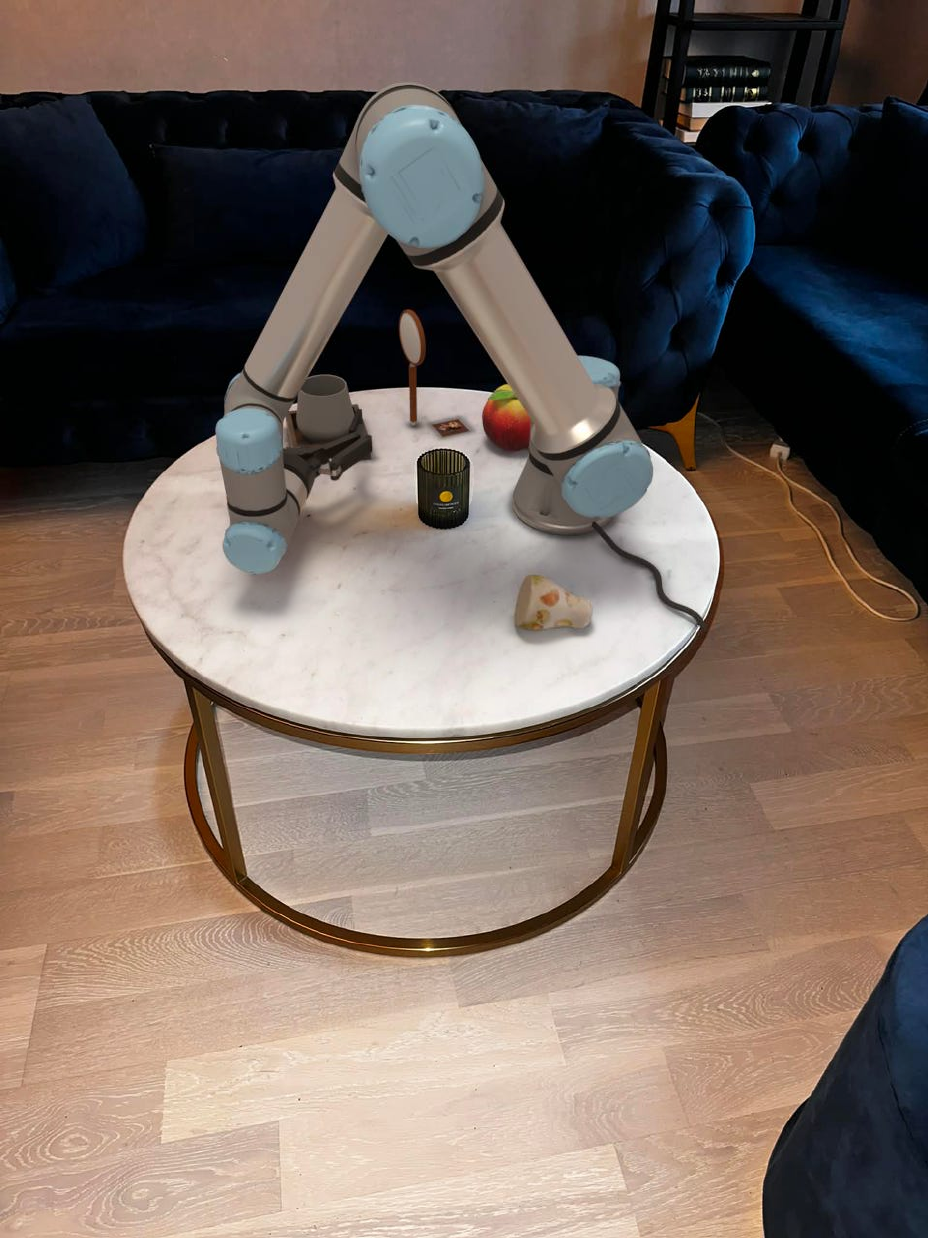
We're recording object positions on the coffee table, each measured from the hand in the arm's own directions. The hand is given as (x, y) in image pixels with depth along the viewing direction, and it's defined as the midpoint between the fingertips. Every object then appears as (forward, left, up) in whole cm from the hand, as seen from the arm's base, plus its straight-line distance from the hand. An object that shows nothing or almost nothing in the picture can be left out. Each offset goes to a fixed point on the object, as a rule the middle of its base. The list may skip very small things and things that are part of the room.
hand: (316, 413), depth 144 cm
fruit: (0, -32, -9) cm, 33 cm away
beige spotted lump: (-45, -24, -9) cm, 52 cm away
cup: (+6, -2, -9) cm, 11 cm away
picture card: (+7, -23, -9) cm, 26 cm away
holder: (+6, -2, -9) cm, 11 cm away
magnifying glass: (+9, -17, -9) cm, 21 cm away
